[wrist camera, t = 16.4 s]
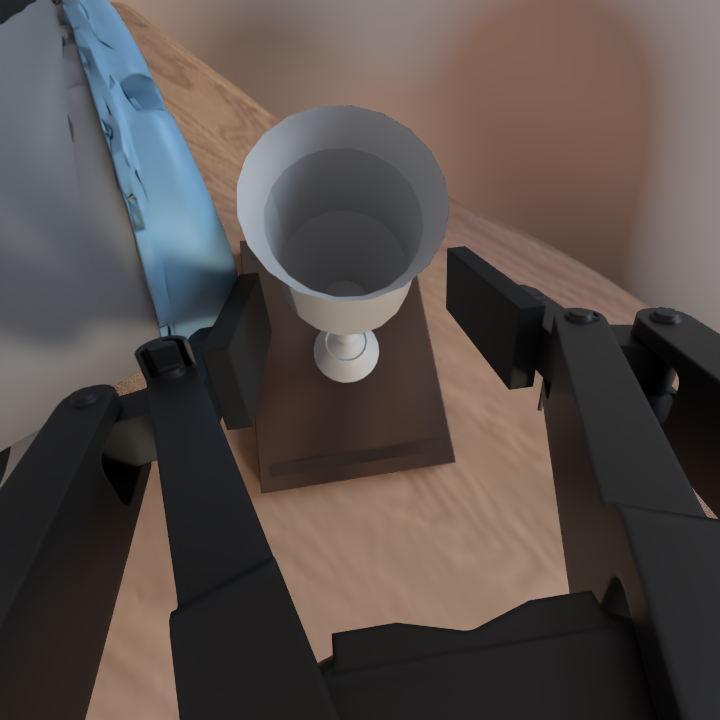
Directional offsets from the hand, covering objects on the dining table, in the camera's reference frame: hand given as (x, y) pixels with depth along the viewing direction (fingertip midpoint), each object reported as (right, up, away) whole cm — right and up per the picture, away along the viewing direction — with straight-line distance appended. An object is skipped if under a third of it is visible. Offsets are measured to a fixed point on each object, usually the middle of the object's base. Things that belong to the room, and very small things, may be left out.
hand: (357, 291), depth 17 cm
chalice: (-1, -2, +13) cm, 14 cm away
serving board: (-1, -2, +15) cm, 15 cm away
